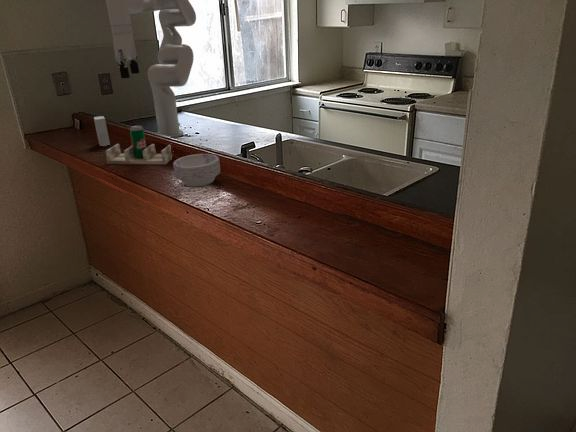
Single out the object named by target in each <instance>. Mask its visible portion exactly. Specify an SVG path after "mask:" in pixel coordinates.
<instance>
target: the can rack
mask: <svg viewBox="0 0 576 432" xmlns="http://www.w3.org/2000/svg"><path fill="white" fill-rule="evenodd" d="M155 145H156V144H155V143H151V144H150V145H148V146H146V149H144V150H143V151H142V153H143V158H141V159H137V158H135V157H134V152H133V146H132V145H130V146H129V147H128V148H126V149H124V150H123V153H122V152H121V145H120V143H116V144H115V145H113V146H111V147H110V148H108V149H106V150H105V156H106V164H107V165H167V164H168V163H169V162H171V160H173V159H172V153H171V145H170V144H168V145H167V146H165V148H163V149H162V150H160V153H157V151H156V146H155Z"/></svg>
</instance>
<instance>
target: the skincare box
mask: <svg viewBox="0 0 576 432" xmlns="http://www.w3.org/2000/svg"><path fill="white" fill-rule="evenodd" d="M93 121H94V126H95V131H96V135H97V141H98V145H99V147H100V146H103V147H108V146H107V145H110V146H111V143H110V138H109V133H108V127H107V122H106V118H105V117H104V116H103V115H102V116H101V115H99V116H94V117H93Z"/></svg>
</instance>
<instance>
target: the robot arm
mask: <svg viewBox="0 0 576 432" xmlns="http://www.w3.org/2000/svg"><path fill="white" fill-rule="evenodd" d="M105 3H106V8H107V13H108V18H109V22H110V23H109V24H110V28H111V34H112V42H113V43H112V44H113V51H114V59H115V61H116V63H117V66H118V68H119V72H120V78H121V79H130V77H131V76H130V72H131V74H140V68H139V64H138V63H139V61H138V55H137V54H138V51H137V49H136V44H135V40H134V37H133V33H134V32H133V31H134V30H133V26H132V19H131V16H130V15H133V14H134V15H135V14H139V13H152V12H157V11H158V21H159V24H160V28H161V30H162V35H163V36H162V40H161V44H160V45H159V50H158V52H157V57H156V58H157V61H158V63H155V64H152V65H151V66H149V68H148V70H147V78H148V81H149V85H150V88H151V91H152V96H153V104H154V110H155V118H156V125H157V132H156V133H159V134H163V135H167V136H171V137H175V138H178V137H181V136H183V135H184V131H183V130H181V129H180V126H181V123H180V122H179V116H178V108H177V101H176V95H175V93H174V91H173V89H172V88H171V87H173V88H175V87H176V88H177V87H178V88H181V87H184V86H185V85H186V84H187V83H188V80H189V77H190V75H191V71H192V68H193V64H194V57H195V56H194V51H193V49H192V47H191V46H190V45H188V44H184V43H183V38H182V35H181V34H180V33H179V32H178V30H177V29H176V27H191V26H193V25H194V24H196V20H197V15H196V11H195V9H194V6H193V5H192V4H191V2H190V1H189V0H105ZM128 62H129V66H128ZM127 66H128V67H127ZM129 69H130V72H129Z"/></svg>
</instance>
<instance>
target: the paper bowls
mask: <svg viewBox="0 0 576 432" xmlns="http://www.w3.org/2000/svg"><path fill="white" fill-rule="evenodd" d="M220 163H221V162H220V157H219V156H217V155H215V154H211V153H196V154H189V155H186V156H182V157H179V158H177V159H176V160H174V161H173V163H172V167H173V172H174V177H175V178H176V179H177V180H179V181H181V182H182V183H183V185H185V186H187V187H192V188H194V187H205V186H208V185H210V184H212V183H213V182H214V181H215V179H216V177H217V176H218V175H220V173H221V165H220Z"/></svg>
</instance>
